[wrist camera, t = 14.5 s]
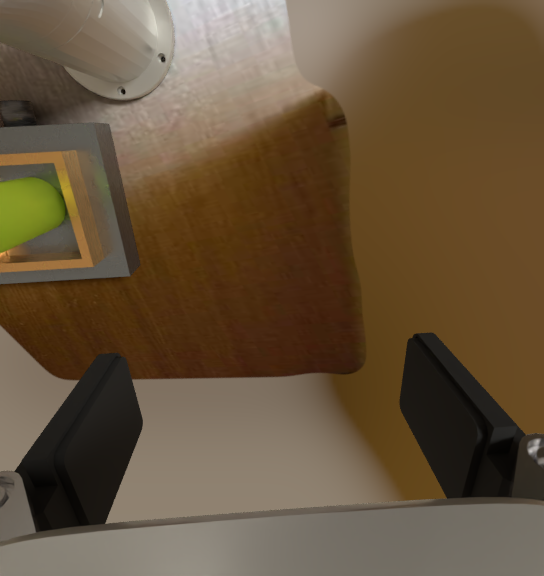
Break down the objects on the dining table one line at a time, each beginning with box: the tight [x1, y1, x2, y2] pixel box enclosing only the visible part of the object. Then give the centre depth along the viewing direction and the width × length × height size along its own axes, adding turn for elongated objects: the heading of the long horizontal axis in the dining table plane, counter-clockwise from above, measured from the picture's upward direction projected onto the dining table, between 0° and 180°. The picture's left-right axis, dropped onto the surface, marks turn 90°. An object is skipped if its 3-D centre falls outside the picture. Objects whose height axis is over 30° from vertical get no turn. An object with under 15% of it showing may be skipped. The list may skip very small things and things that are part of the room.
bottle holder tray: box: [0, 101, 140, 284], centre depth 38 cm, size 19×17×7 cm
